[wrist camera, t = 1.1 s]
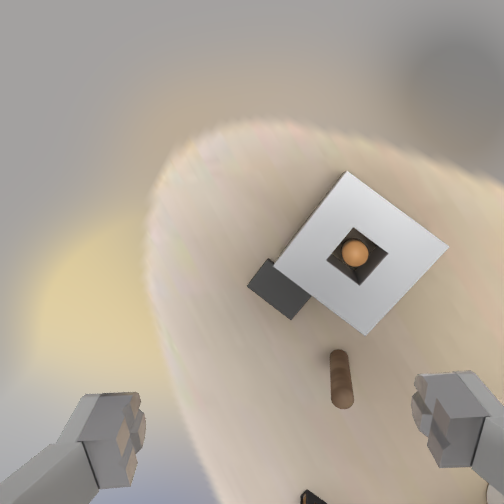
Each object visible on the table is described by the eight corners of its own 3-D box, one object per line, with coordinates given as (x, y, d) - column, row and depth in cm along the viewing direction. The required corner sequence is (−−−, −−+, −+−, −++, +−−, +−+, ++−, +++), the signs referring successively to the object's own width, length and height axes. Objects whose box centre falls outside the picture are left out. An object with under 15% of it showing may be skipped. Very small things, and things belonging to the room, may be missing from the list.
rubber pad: (312, 292, 50) (312, 294, 49) (291, 317, 51) (291, 320, 50) (268, 258, 50) (267, 259, 49) (248, 284, 51) (246, 286, 50)
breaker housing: (430, 236, 45) (449, 246, 38) (359, 314, 49) (365, 336, 42) (343, 172, 46) (347, 170, 39) (279, 254, 49) (273, 266, 43)
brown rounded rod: (351, 357, 50) (358, 398, 41) (340, 369, 51) (344, 413, 42) (337, 346, 50) (340, 384, 41) (326, 358, 51) (326, 399, 42)
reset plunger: (371, 248, 44) (373, 252, 42) (355, 266, 45) (357, 271, 42) (351, 233, 44) (353, 237, 42) (336, 252, 45) (337, 256, 42)
